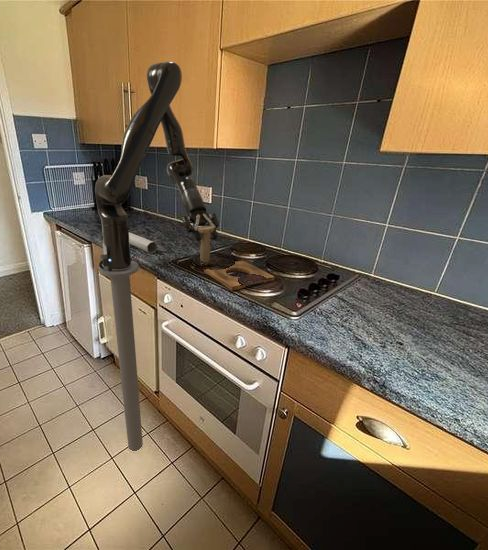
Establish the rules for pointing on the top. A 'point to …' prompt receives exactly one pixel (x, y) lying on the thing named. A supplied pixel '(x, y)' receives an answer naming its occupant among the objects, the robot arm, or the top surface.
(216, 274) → the base pad
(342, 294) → the top surface
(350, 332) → the top surface
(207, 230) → the handle
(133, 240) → the tube
